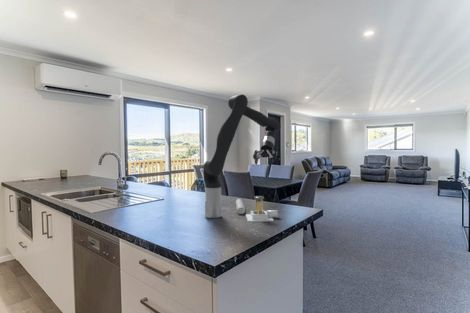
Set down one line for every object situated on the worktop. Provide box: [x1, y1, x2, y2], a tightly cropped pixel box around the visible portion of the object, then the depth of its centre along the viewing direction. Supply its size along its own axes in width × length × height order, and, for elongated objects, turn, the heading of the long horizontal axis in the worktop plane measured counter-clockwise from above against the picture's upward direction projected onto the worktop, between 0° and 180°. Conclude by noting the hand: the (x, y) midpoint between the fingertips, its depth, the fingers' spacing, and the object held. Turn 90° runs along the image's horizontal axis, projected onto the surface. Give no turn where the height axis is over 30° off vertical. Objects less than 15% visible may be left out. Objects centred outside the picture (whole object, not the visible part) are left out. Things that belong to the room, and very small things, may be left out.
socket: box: [245, 209, 279, 223], centre depth 149 cm, size 18×14×4 cm
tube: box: [235, 198, 246, 215], centre depth 169 cm, size 5×5×25 cm
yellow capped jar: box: [253, 195, 265, 214], centre depth 148 cm, size 6×6×11 cm
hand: (262, 163), depth 154 cm, fingers open, 8 cm apart
